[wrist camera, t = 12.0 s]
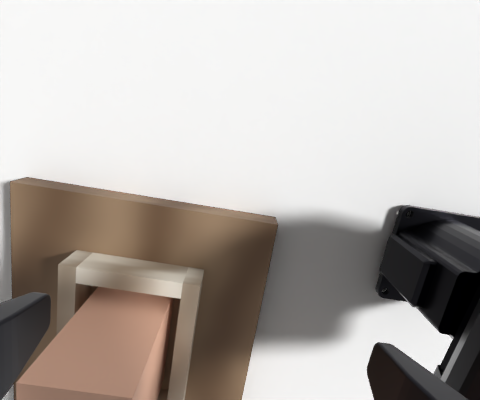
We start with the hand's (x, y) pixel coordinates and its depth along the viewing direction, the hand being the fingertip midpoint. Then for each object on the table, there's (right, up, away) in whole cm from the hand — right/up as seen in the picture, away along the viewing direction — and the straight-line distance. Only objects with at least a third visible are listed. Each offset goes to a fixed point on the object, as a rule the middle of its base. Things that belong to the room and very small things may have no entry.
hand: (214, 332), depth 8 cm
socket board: (-6, -5, +14) cm, 16 cm away
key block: (-6, -5, +12) cm, 15 cm away
